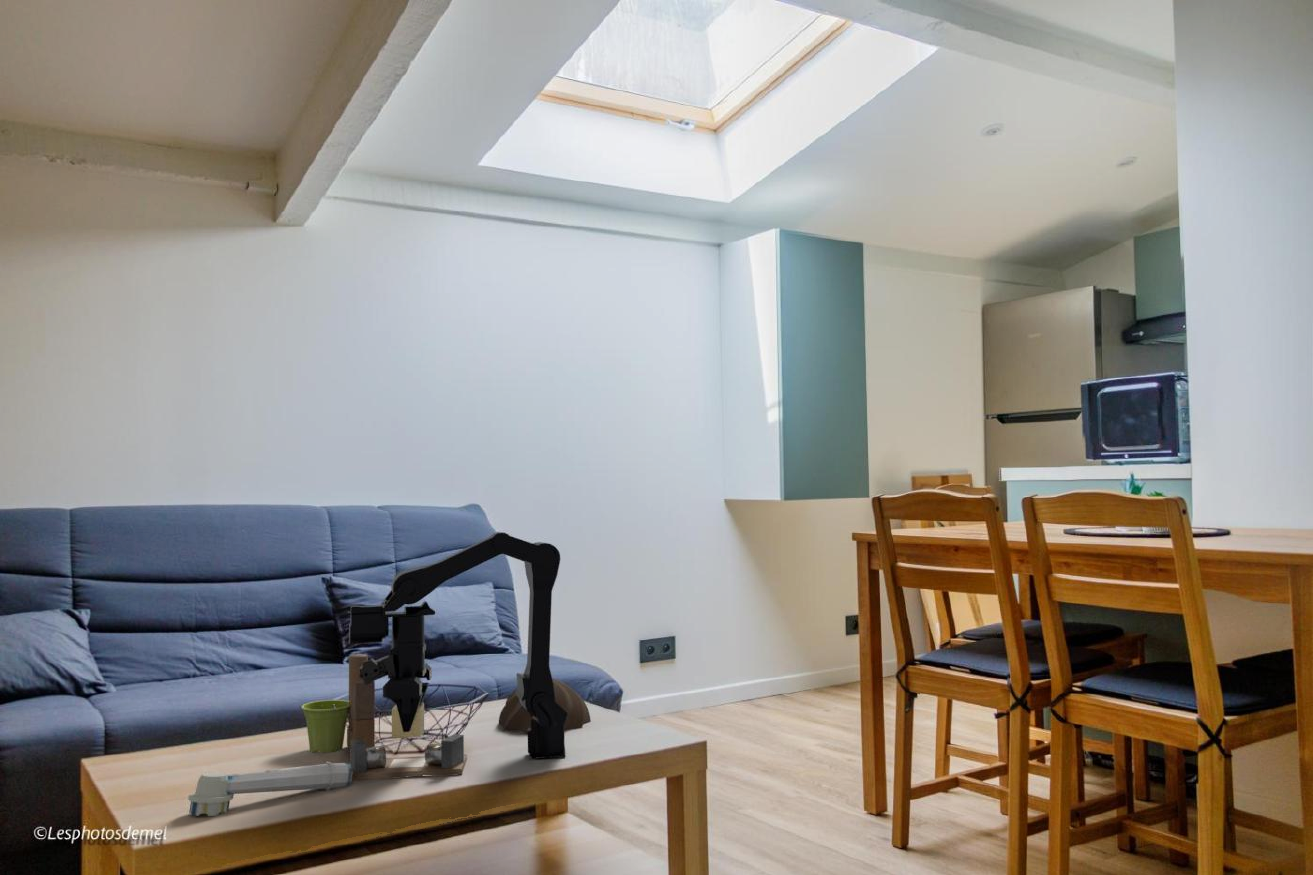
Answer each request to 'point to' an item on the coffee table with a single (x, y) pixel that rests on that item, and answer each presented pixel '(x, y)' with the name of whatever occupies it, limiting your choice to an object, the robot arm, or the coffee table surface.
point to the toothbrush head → (264, 784)
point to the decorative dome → (565, 696)
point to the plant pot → (326, 724)
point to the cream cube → (415, 729)
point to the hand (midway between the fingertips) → (408, 728)
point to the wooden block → (360, 704)
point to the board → (407, 769)
